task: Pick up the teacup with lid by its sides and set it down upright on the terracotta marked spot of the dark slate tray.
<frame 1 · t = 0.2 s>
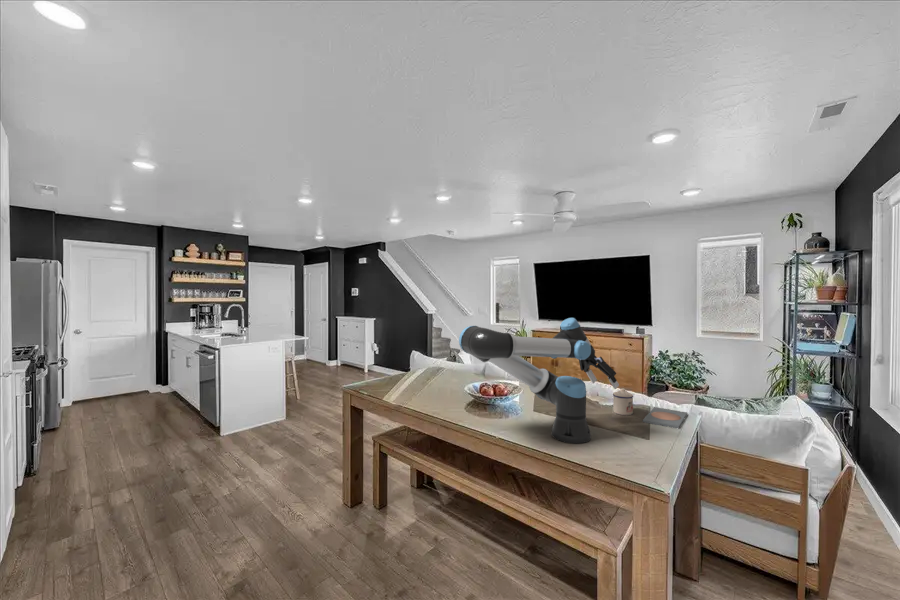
hand: (605, 384, 176), 16 cm above the table, tool tilted 35°, fingers open, 13 cm apart
slate tray: (665, 418, 176), on the table
teacup with lid: (623, 412, 186), on the table
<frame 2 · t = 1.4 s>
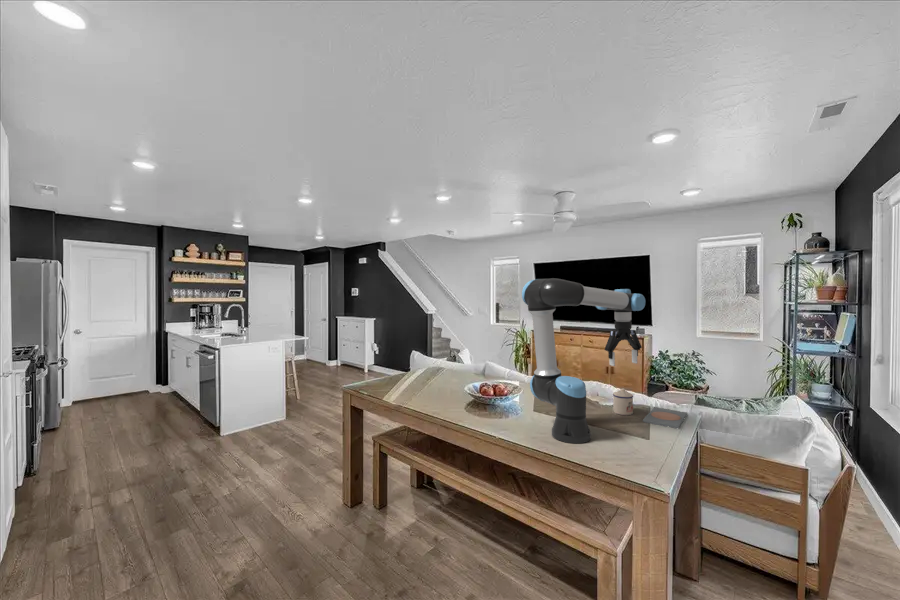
hand: (623, 364, 185), 23 cm above the table, tool pointing down, fingers open, 13 cm apart
nothing on the table moved.
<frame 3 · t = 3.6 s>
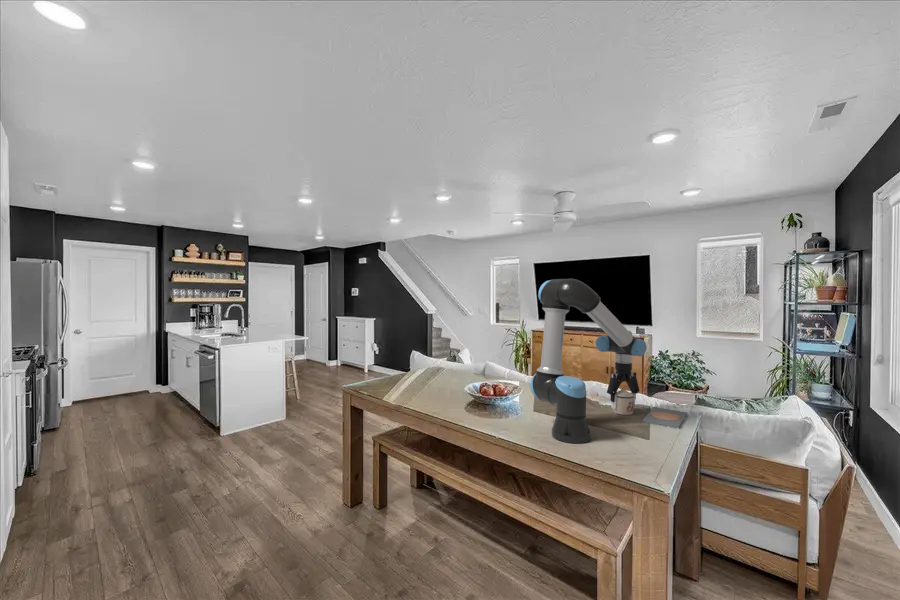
hand: (623, 407, 186), 2 cm above the table, tool pointing down, fingers open, 10 cm apart
teacup with lid: (624, 412, 186), on the table, touching gripper
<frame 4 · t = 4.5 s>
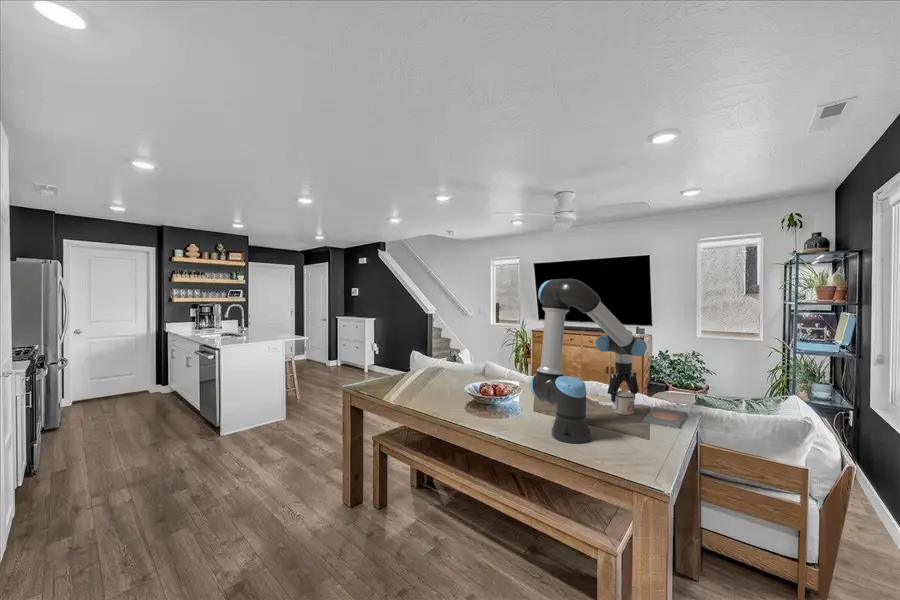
hand: (623, 407, 186), 2 cm above the table, tool pointing down, fingers closed on teacup with lid, 10 cm apart
teacup with lid: (624, 412, 186), on the table, touching gripper
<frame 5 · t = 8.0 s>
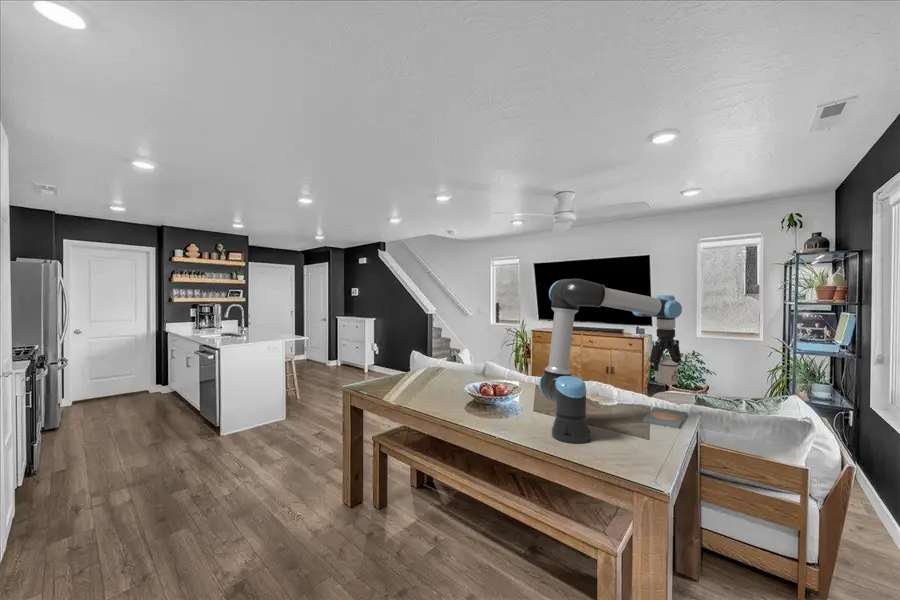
hand: (665, 377, 176), 19 cm above the table, tool pointing down, fingers closed on teacup with lid, 9 cm apart
teacup with lid: (666, 382, 176), point 17 cm above the table, touching gripper
when the fingers open (5 cm above the table, at t = 11.1 s): teacup with lid stays where it is, resting on slate tray.
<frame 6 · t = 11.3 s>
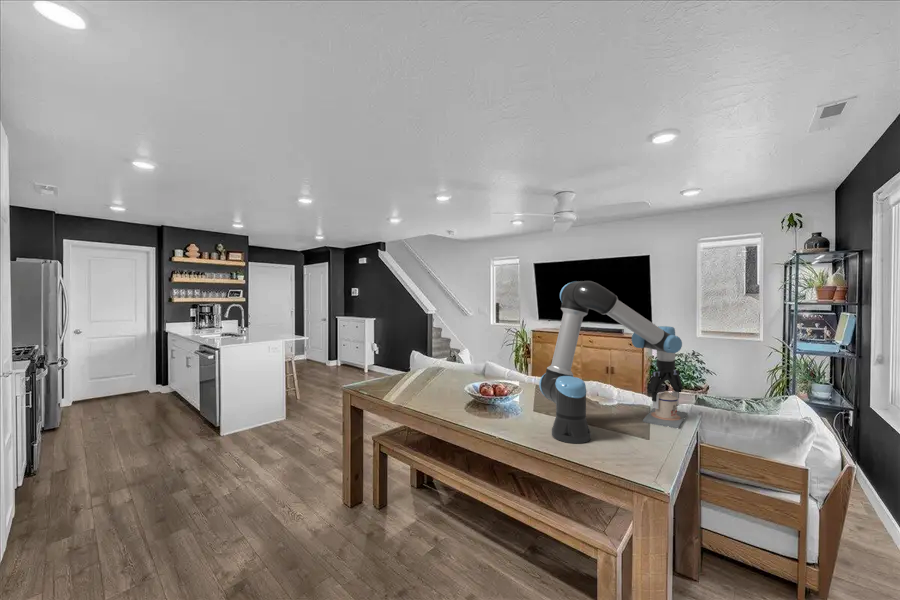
hand: (665, 406, 176), 5 cm above the table, tool pointing down, fingers open, 11 cm apart
teacup with lid: (666, 415, 176), point 1 cm above the table, touching slate tray
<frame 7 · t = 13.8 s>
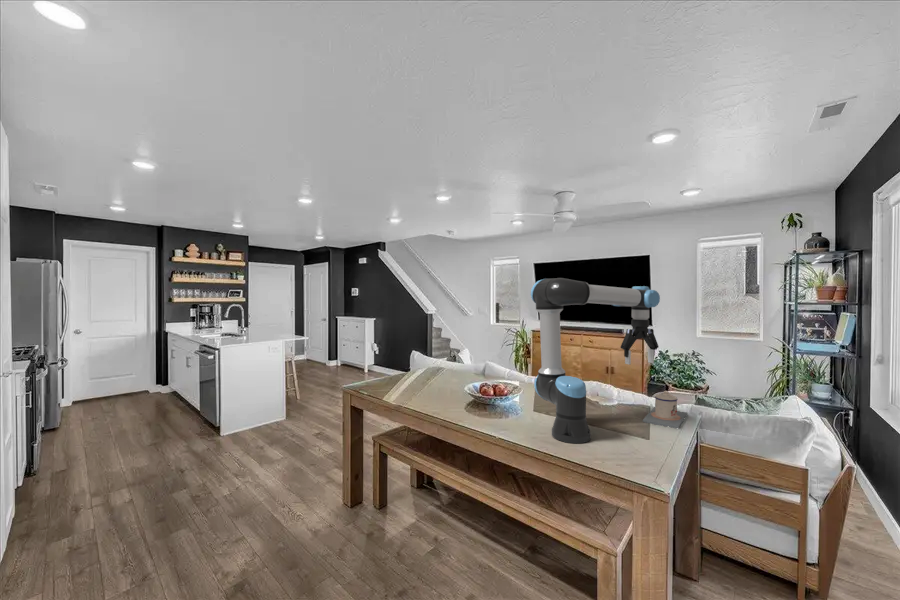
hand: (639, 363, 180), 25 cm above the table, tool pointing down, fingers open, 13 cm apart
nothing on the table moved.
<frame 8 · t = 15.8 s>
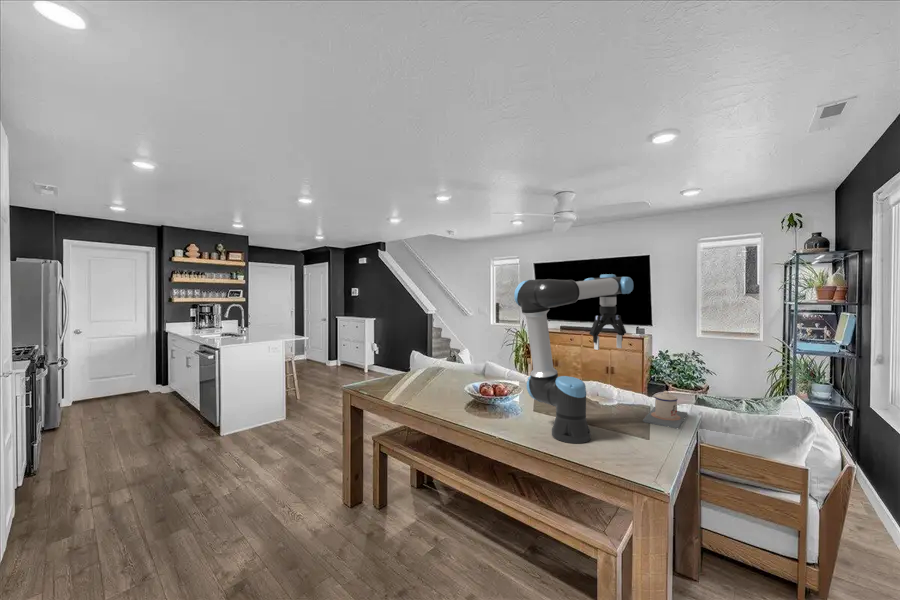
hand: (608, 348, 187), 31 cm above the table, tool pointing down, fingers open, 13 cm apart
nothing on the table moved.
at the end: teacup with lid inside the target area on the slate tray (0.7 cm from its centre), point 0.9 cm above the slate tray's base; teacup with lid tilted 0°; the gripper is holding nothing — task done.
